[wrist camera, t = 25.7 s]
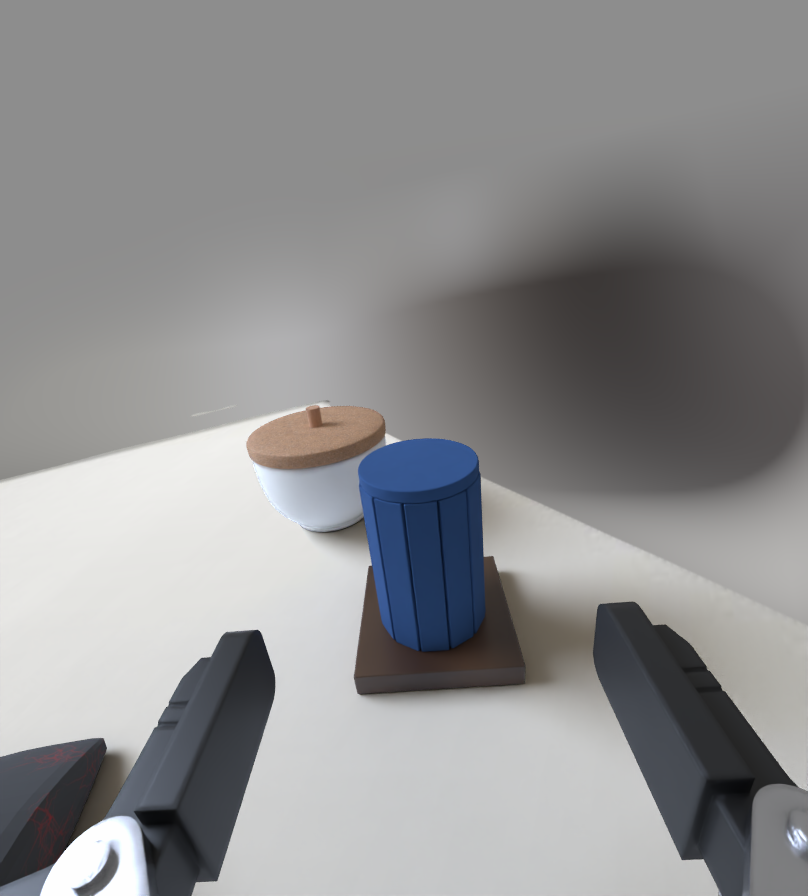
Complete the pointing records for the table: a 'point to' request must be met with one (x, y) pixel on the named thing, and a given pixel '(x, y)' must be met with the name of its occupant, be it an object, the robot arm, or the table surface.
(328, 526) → the trinket box
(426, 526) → the blue lidded canister
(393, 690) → the brown square base
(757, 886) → the robot arm
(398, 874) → the table surface
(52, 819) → the computer mouse
